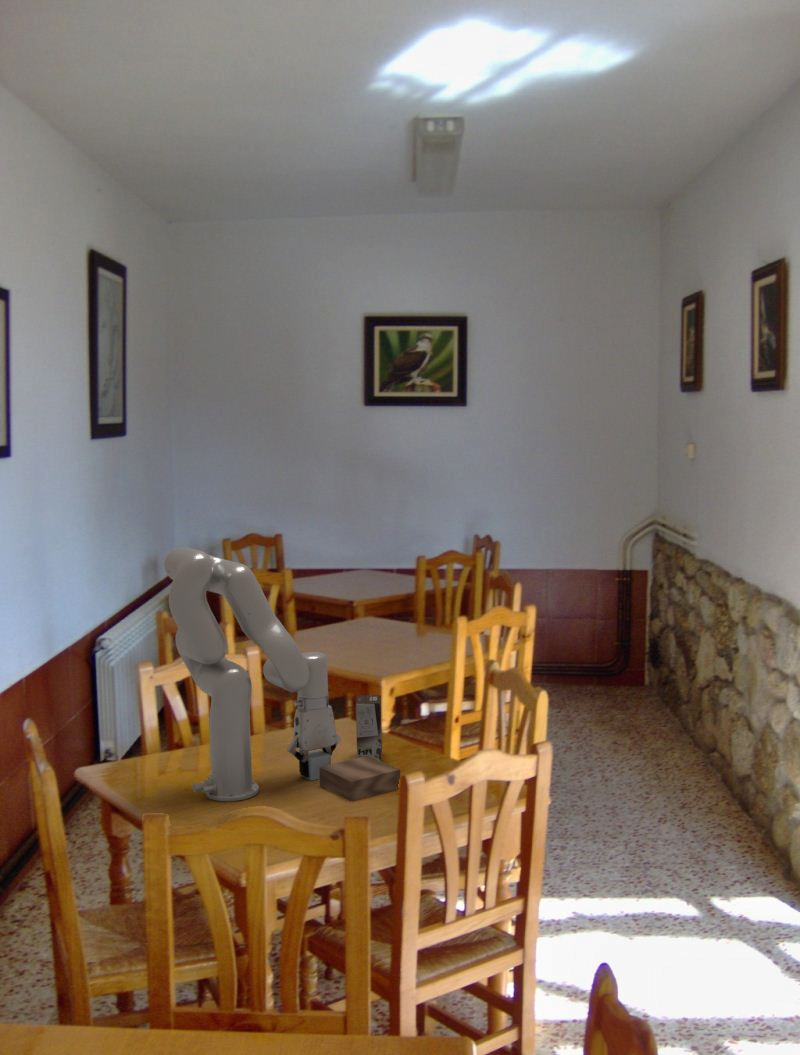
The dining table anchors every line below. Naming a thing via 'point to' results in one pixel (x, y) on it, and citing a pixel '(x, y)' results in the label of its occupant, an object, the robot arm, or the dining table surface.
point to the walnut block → (359, 777)
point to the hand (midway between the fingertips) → (315, 772)
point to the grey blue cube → (317, 763)
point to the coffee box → (369, 726)
